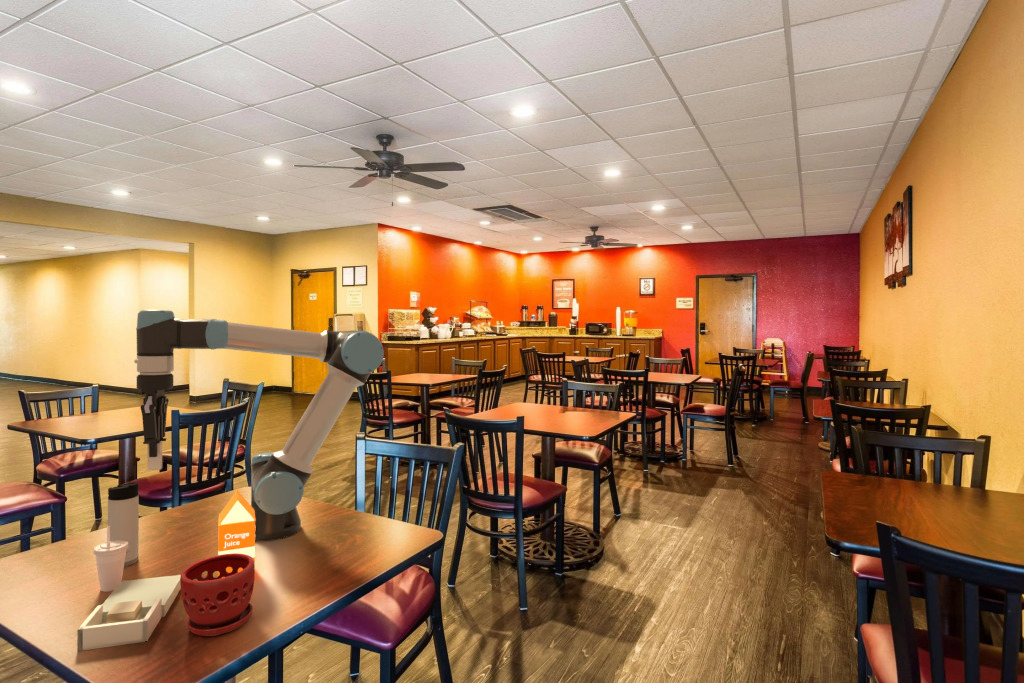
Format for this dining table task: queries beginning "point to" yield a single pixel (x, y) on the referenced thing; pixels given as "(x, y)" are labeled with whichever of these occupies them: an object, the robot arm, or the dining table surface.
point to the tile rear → (124, 611)
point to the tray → (116, 629)
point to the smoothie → (110, 562)
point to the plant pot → (218, 593)
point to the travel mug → (124, 518)
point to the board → (145, 593)
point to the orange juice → (237, 528)
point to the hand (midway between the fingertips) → (154, 469)
